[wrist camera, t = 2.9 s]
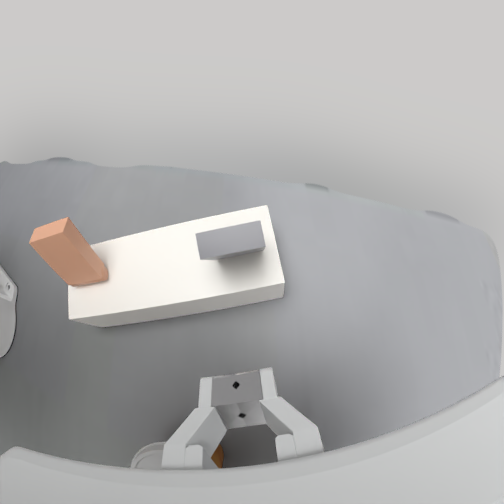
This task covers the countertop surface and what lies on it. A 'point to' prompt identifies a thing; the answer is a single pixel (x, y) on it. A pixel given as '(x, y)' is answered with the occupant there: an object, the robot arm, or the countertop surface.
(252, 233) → the rocker charcoal
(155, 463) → the disposable coffee cup
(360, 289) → the countertop surface
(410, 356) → the countertop surface
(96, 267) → the rocker terracotta
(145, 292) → the switch box
